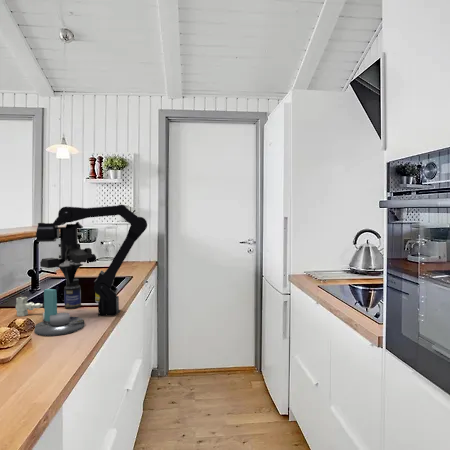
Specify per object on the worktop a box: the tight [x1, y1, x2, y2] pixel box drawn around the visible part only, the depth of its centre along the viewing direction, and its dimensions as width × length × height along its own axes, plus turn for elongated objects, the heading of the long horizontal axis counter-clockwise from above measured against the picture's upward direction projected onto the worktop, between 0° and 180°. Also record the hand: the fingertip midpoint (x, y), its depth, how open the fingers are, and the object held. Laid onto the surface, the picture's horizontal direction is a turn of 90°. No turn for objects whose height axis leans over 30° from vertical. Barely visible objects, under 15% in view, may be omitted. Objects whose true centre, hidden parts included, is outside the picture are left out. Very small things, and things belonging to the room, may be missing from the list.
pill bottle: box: [63, 278, 82, 310], centre depth 144 cm, size 6×6×11 cm
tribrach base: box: [33, 312, 86, 337], centre depth 118 cm, size 15×15×4 cm
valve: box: [15, 296, 44, 317], centre depth 134 cm, size 7×7×12 cm
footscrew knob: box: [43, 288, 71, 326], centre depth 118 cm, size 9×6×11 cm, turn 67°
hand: (70, 283), depth 131 cm, fingers closed
